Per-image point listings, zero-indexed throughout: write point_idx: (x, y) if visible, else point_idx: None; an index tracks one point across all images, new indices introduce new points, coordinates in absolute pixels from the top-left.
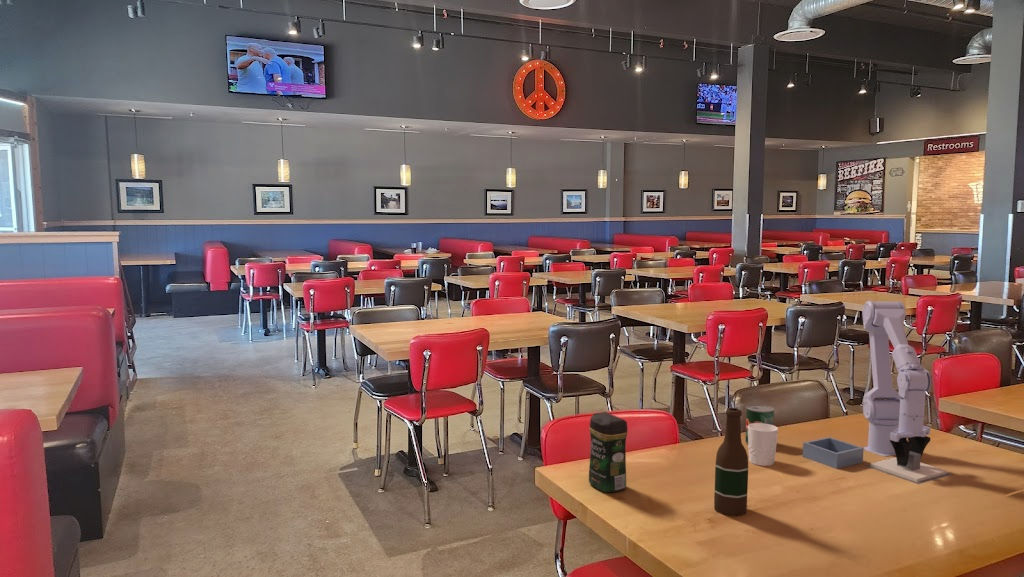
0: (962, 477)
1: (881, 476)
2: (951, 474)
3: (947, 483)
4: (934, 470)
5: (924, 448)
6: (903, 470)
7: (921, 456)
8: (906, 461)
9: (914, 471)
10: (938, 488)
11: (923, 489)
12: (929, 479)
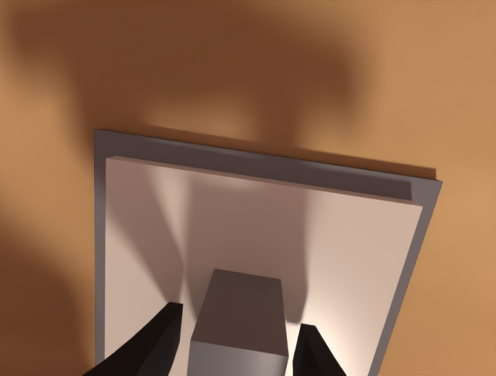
0: (75, 81)
1: (429, 344)
2: (106, 132)
3: (257, 90)
4: (170, 206)
5: (94, 373)
6: (323, 309)
7: (148, 324)
8: (326, 347)
9: (289, 268)
10: (395, 85)
11: (483, 133)
12: (305, 174)
